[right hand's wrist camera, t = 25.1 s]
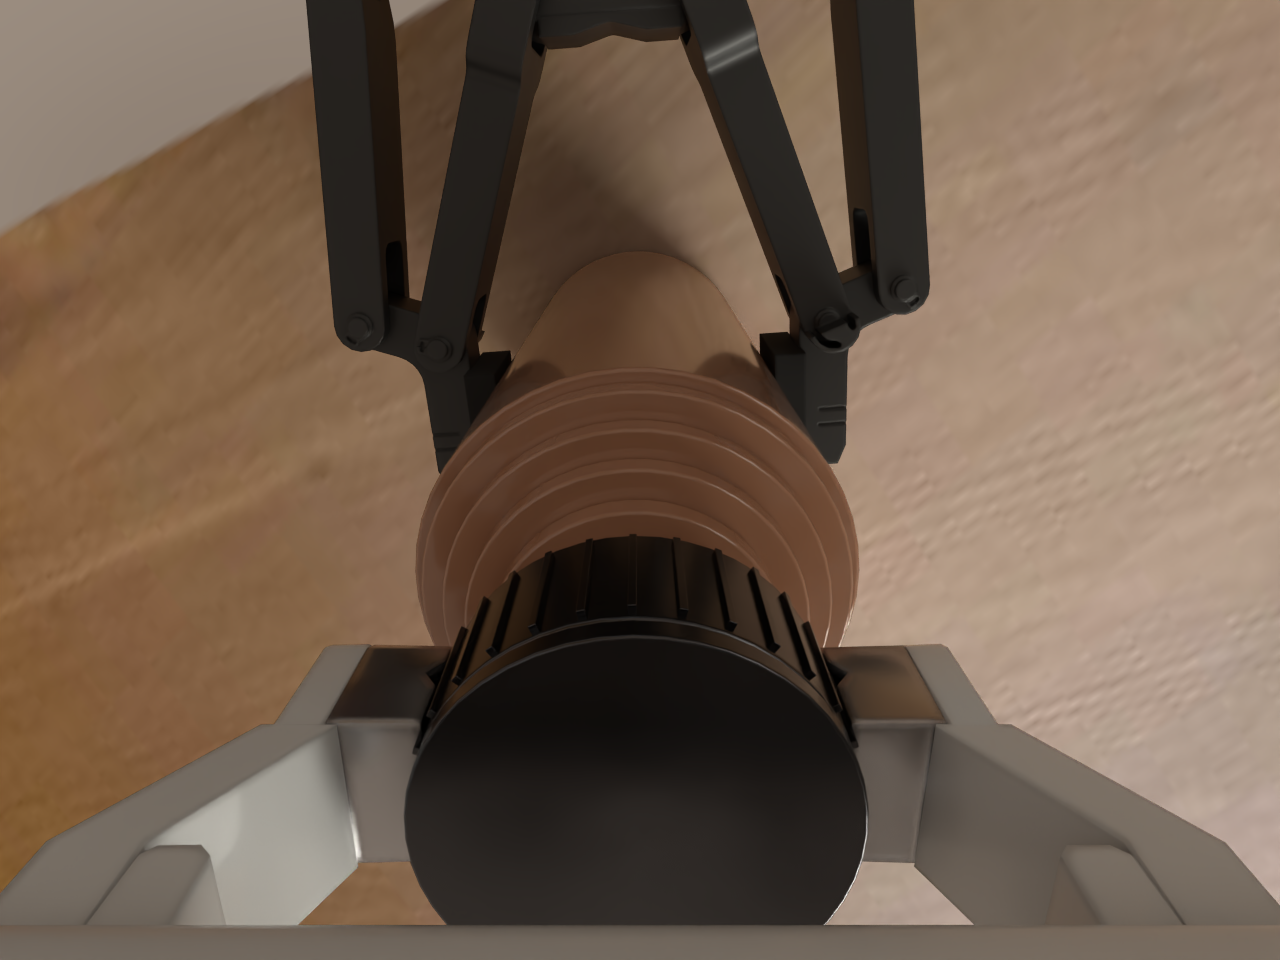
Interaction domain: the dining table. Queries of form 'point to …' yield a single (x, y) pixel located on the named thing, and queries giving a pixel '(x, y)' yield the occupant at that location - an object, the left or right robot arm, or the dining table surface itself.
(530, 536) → the bottle
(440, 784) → the cap
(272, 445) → the dining table surface
